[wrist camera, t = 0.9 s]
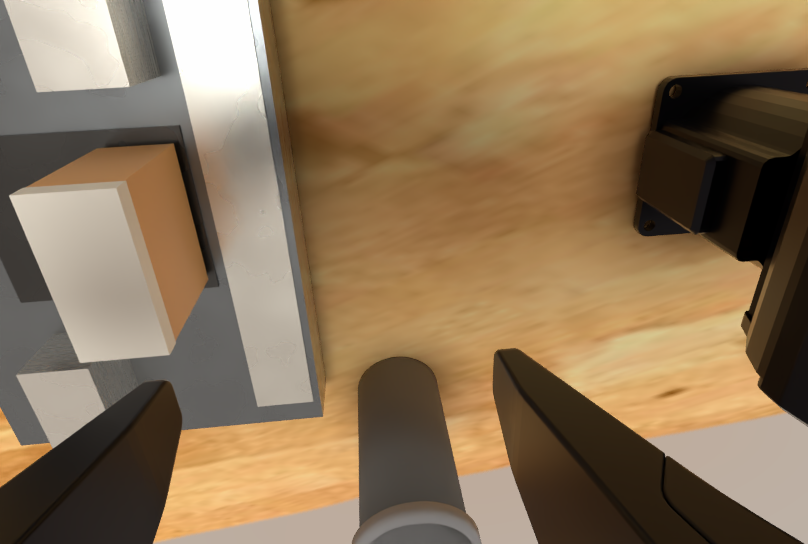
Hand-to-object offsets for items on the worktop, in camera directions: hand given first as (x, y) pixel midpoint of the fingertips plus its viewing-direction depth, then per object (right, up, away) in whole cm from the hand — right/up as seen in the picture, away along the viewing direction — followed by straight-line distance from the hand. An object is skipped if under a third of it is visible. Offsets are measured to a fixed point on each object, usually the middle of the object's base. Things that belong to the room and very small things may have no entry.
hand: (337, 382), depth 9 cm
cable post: (+1, -4, +16) cm, 17 cm away
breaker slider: (-7, +4, +8) cm, 12 cm away
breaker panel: (-10, +5, +11) cm, 15 cm away
